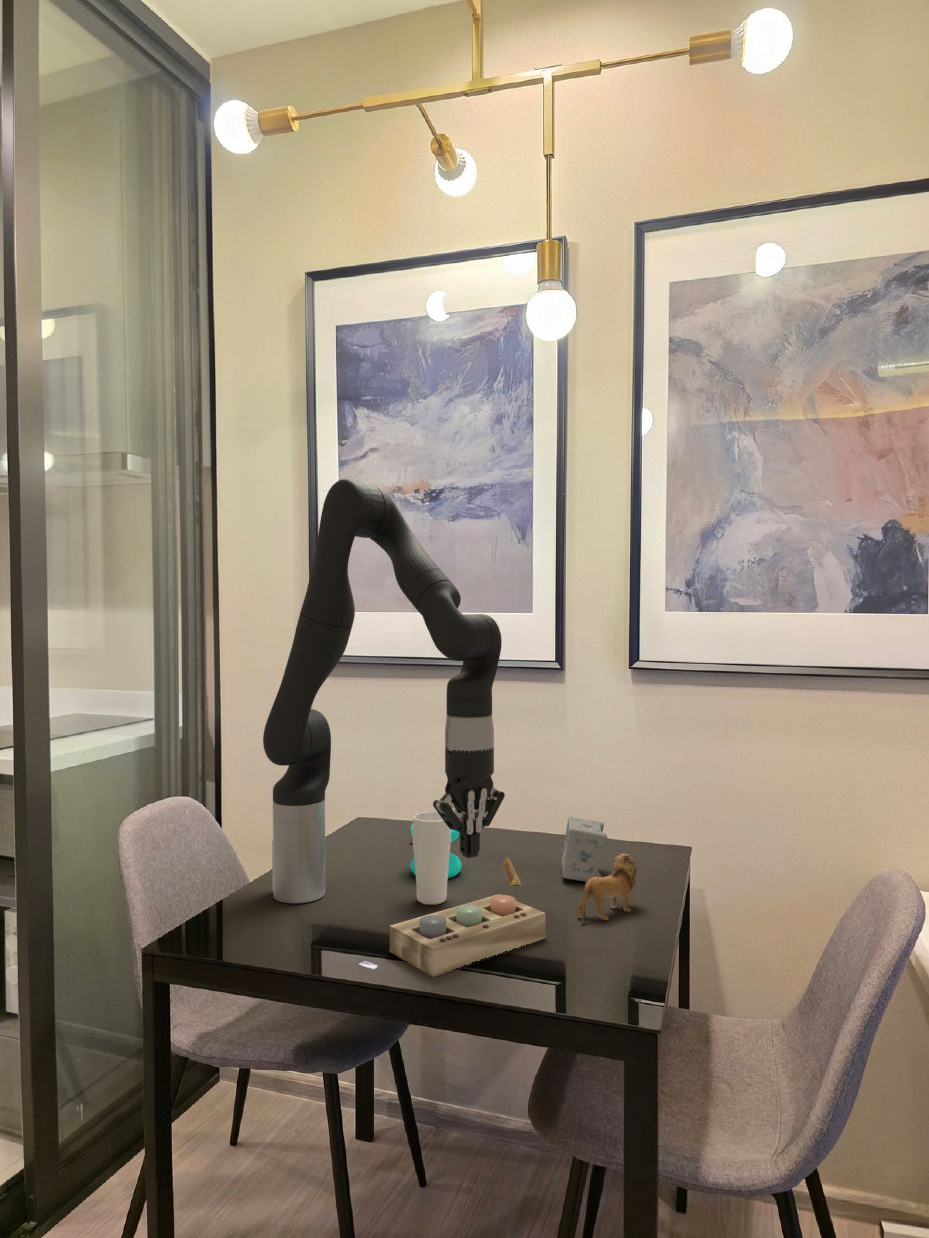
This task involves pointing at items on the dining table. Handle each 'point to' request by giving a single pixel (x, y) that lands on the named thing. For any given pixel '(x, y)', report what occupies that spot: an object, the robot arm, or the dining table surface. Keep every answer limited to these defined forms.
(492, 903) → the terracotta button
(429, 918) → the slate button
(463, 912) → the sage button
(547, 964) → the dining table surface
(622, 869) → the lion figurine
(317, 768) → the robot arm
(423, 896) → the drinking glass
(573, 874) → the incense holder
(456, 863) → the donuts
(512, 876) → the chocolate bar
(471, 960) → the button panel
